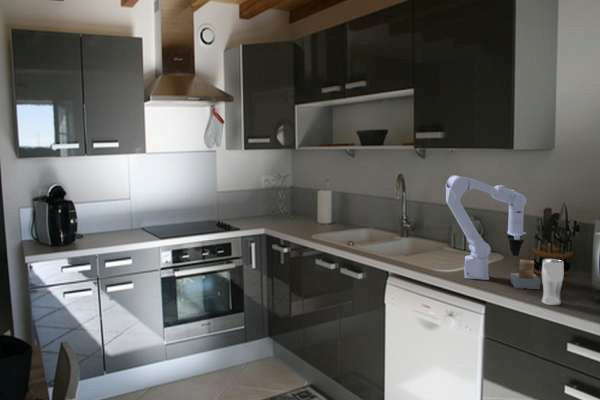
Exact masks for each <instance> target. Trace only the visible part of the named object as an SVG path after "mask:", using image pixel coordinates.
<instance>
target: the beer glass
mask: <svg viewBox="0 0 600 400" xmlns="http://www.w3.org/2000/svg"><path fill="white" fill-rule="evenodd" d="M541 264H542V265H541V271H540V272H541V275H540V276H541V283H542V290H543V291H542V296H541V297H542V298H541V303H542V304H545V305H548V306H559V305H561V304H562V303H561V288H562V286H563V281H564V275H565V273H564V271H565V269H564V266H565V264H564V261H563V260H562V259H561V260H560V259H557V258H556V259H555V258H544V259H542V263H541Z"/></svg>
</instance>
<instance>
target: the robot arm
mask: <svg viewBox="0 0 600 400" xmlns="http://www.w3.org/2000/svg"><path fill="white" fill-rule="evenodd" d="M473 189H475V190H478V191H480V192H484V193H487V194H489V195H490V197H491V198H492V199H494V200H497V201H499V202H502V203H505V204H508V221H507V222H508V223H507V234H506V236H507V240H508V244H509V249H510V253H511V255H512V257H519V255H520V251H521V247H522V245H523V243H524V241H525V239H521V238H522V236H523V235H526V234H527V232H526V231H524V219H525V216H524V214H525V213H524V212H525V211H524V210H525V209H524V208H525V206H526V204H527V202H528V199H527V197H526V195H524V194H523V193H521V192H517V191H516V190H515V189H510V188H508V187H505V185H502V184H500V185H495V186H492V185H489V184H488V183H485V182H481V181H480V180H478V179H475V178H470V177H465V176H459V175H456V174H455V175H454V174H453V175H451V176H450V177H449V178H448V179H447V181H446V183H445V203H446V204H447V206H448V208H449V209H450V211H451V212H452V215H453V216H454V218H455V220H456V221H457V224H458V225H459V227H460V228H461V230H462V232H463V233H464V234H463V235H465V237H466V241H467V243H468V248H469V251H470V254H469V255H465V257H464V268H463V274H464V279H472V280H475V279H476V280H485V281H489V280H490V276H489V273H488V272H489V255H490V254H491V250H492V249H491V246H490V244H489V243H488V242H486V241H485V240H484V238H483V237H482V236H481V235H480V233H479V232H478V230H477V229H476V227H475V225H474V224H473V222H472V219H471V218H470V216H469V215H468V214H467V211H466V209H465V208H464V206H463V204H462V203H461V199H462V198H463V197H462V196H463V195H464V194H465V192H466V191H467V190H473Z"/></svg>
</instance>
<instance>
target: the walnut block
mask: <svg viewBox="0 0 600 400" xmlns="http://www.w3.org/2000/svg"><path fill="white" fill-rule="evenodd" d="M534 269H535V260H534V259H533V260H529V259H519V270H518V271H519V272H518V273H519V278H529V279H533V274H534Z"/></svg>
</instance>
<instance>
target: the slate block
mask: <svg viewBox="0 0 600 400" xmlns="http://www.w3.org/2000/svg"><path fill="white" fill-rule="evenodd" d="M510 283H511V285H512V287H514V289H524V288H527V290H529V289H530V290H540V289H541V279H540V278H539V277H538V276H537V275H536V274H535V273H533V279H529V278H519V272H518V273H517V272H513V273H512V272H510Z"/></svg>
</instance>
